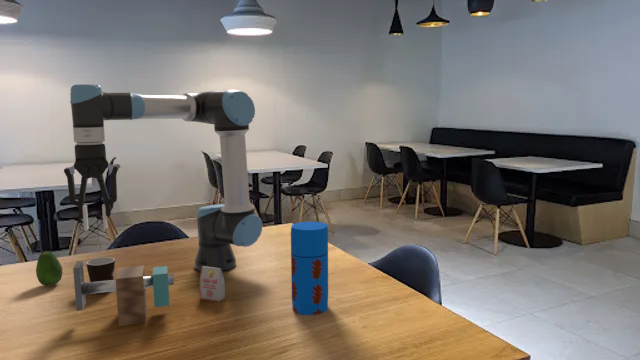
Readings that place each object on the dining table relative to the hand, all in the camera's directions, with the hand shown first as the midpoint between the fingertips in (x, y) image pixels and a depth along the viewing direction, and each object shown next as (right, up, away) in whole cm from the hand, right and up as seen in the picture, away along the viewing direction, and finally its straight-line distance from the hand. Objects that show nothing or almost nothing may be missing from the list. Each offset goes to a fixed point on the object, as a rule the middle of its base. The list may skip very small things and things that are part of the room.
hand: (96, 228), depth 139 cm
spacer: (+15, -22, +8) cm, 28 cm away
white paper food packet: (+27, -24, +21) cm, 42 cm away
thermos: (+58, -25, +12) cm, 65 cm away
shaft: (+7, -21, +5) cm, 23 cm away
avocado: (-29, -23, +32) cm, 49 cm away
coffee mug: (-10, -23, +29) cm, 38 cm away
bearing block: (+8, -26, +6) cm, 28 cm away
